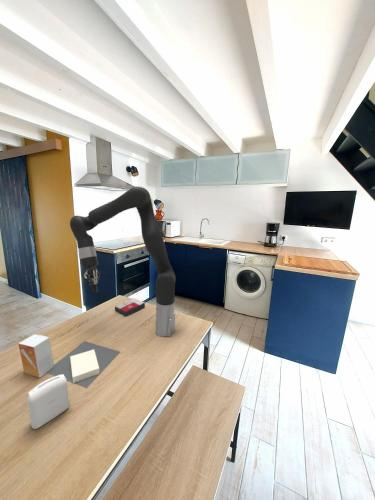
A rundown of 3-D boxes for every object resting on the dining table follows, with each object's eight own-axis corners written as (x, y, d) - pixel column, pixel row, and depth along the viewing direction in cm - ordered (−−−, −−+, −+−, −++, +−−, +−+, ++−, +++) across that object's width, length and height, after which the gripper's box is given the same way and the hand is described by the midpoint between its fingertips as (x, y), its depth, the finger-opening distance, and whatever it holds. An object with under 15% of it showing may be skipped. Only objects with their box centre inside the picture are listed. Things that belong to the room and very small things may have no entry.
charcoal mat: (120, 352, 93) (120, 351, 92) (86, 389, 74) (86, 388, 74) (84, 342, 98) (84, 341, 98) (44, 373, 80) (44, 372, 80)
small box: (23, 373, 79) (17, 343, 77) (40, 362, 85) (34, 333, 82) (39, 378, 77) (33, 347, 74) (55, 366, 82) (49, 336, 80)
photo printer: (33, 433, 59) (28, 397, 57) (29, 422, 62) (24, 388, 60) (71, 407, 67) (68, 375, 65) (66, 399, 70) (63, 368, 67)
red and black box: (114, 305, 127) (133, 296, 139) (114, 312, 128) (134, 302, 140) (125, 311, 121) (145, 302, 133) (125, 318, 122) (145, 308, 134)
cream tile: (70, 356, 85) (72, 377, 75) (94, 349, 90) (99, 368, 80) (70, 361, 85) (73, 383, 75) (94, 354, 90) (99, 373, 80)
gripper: (88, 255, 93) (96, 293, 93) (102, 255, 107) (108, 288, 106) (72, 259, 94) (80, 296, 94) (88, 258, 107) (94, 291, 107)
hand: (95, 292), depth 100 cm, fingers closed
